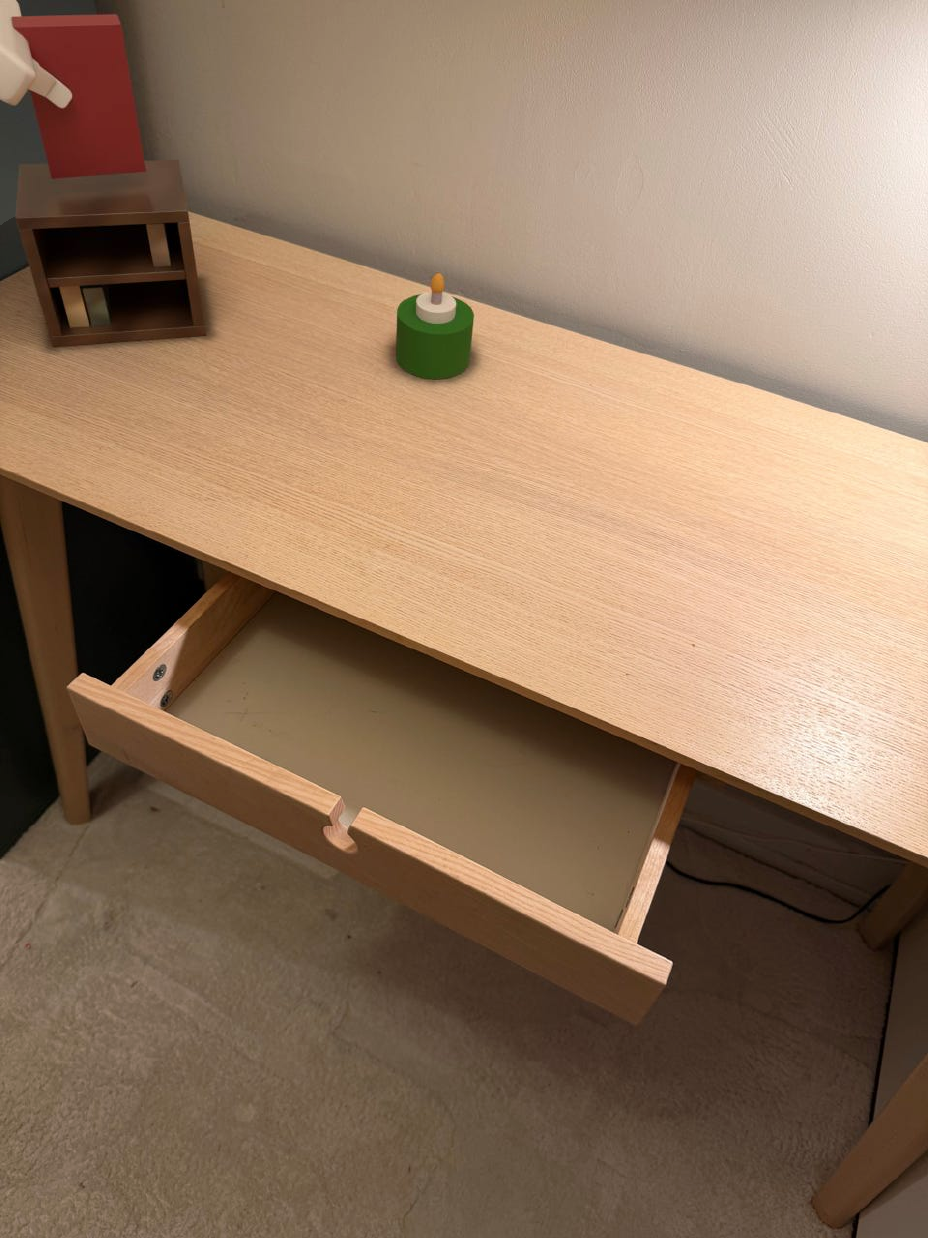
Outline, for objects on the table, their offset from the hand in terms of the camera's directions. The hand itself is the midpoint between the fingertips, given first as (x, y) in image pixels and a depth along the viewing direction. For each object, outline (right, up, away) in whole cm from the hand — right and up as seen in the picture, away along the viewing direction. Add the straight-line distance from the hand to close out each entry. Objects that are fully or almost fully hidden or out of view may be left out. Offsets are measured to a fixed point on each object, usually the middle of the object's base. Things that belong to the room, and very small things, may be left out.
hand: (65, 91), depth 85 cm
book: (+1, -4, +6) cm, 7 cm away
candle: (+34, -20, +17) cm, 43 cm away
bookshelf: (-1, -15, +18) cm, 23 cm away
